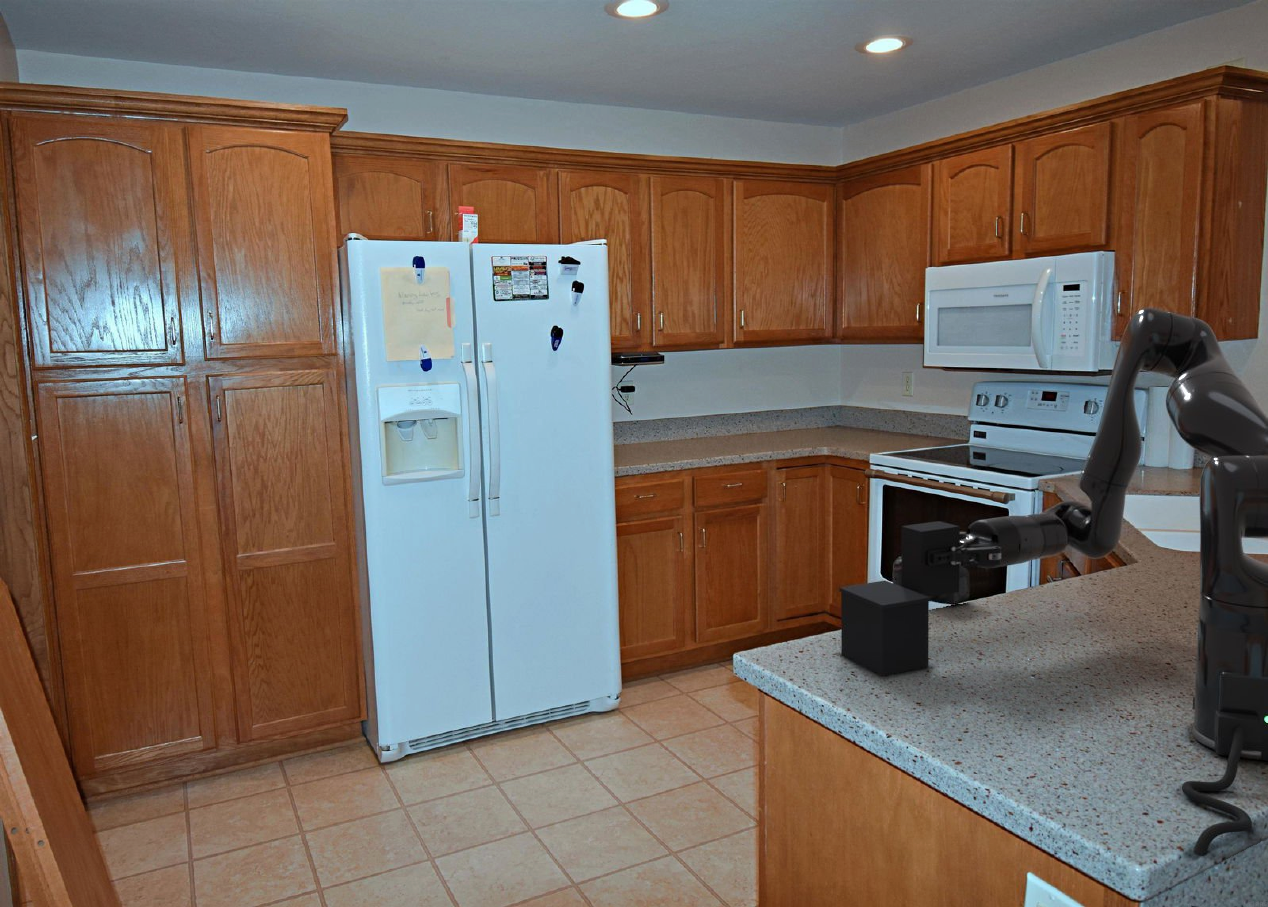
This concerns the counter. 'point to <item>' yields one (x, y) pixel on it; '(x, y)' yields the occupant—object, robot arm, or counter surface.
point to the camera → (945, 598)
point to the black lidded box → (885, 627)
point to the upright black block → (914, 553)
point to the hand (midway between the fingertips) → (915, 554)
